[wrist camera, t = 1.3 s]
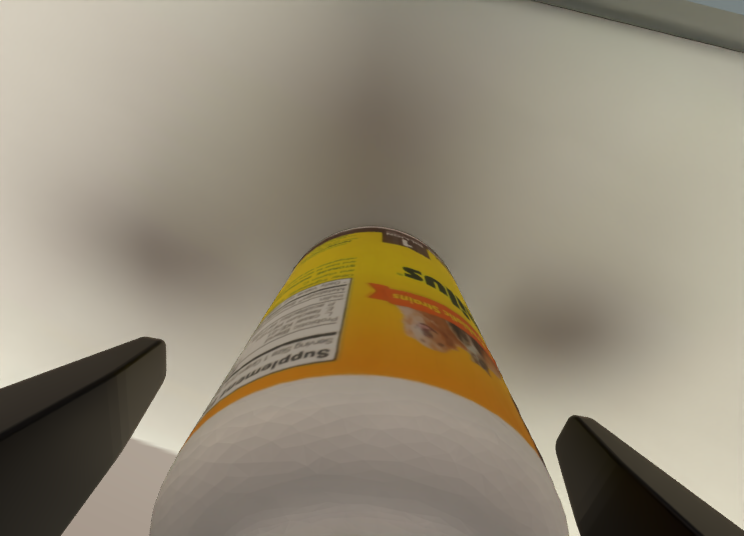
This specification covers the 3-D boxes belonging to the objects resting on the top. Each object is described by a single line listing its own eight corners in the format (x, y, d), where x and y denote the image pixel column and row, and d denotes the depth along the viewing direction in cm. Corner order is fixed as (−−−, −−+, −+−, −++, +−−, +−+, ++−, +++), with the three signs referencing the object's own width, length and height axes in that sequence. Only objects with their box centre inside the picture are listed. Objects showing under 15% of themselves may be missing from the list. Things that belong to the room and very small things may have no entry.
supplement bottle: (479, 331, 12) (806, 1005, 3) (341, 388, 13) (246, 1020, 4) (410, 187, 11) (670, 703, 1) (257, 266, 12) (-282, 879, 2)
